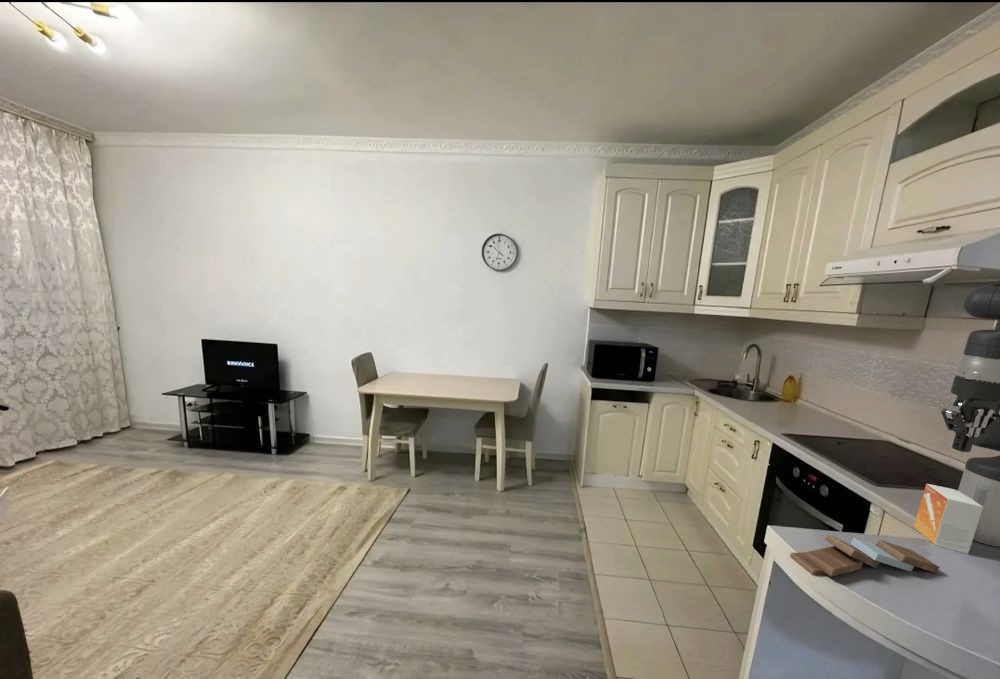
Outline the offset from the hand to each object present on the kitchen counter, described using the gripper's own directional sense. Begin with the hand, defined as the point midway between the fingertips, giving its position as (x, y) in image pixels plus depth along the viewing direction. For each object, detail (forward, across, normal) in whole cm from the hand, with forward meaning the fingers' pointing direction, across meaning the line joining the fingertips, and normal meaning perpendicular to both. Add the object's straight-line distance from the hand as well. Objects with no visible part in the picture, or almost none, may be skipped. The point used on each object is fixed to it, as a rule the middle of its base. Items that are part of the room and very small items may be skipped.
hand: (960, 450), depth 80 cm
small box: (+27, -11, -5) cm, 30 cm away
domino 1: (+27, +28, +3) cm, 39 cm away
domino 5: (+26, +6, +3) cm, 27 cm away
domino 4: (+26, +12, +2) cm, 29 cm away
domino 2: (+25, +26, +3) cm, 36 cm away
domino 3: (+26, +20, +2) cm, 33 cm away
